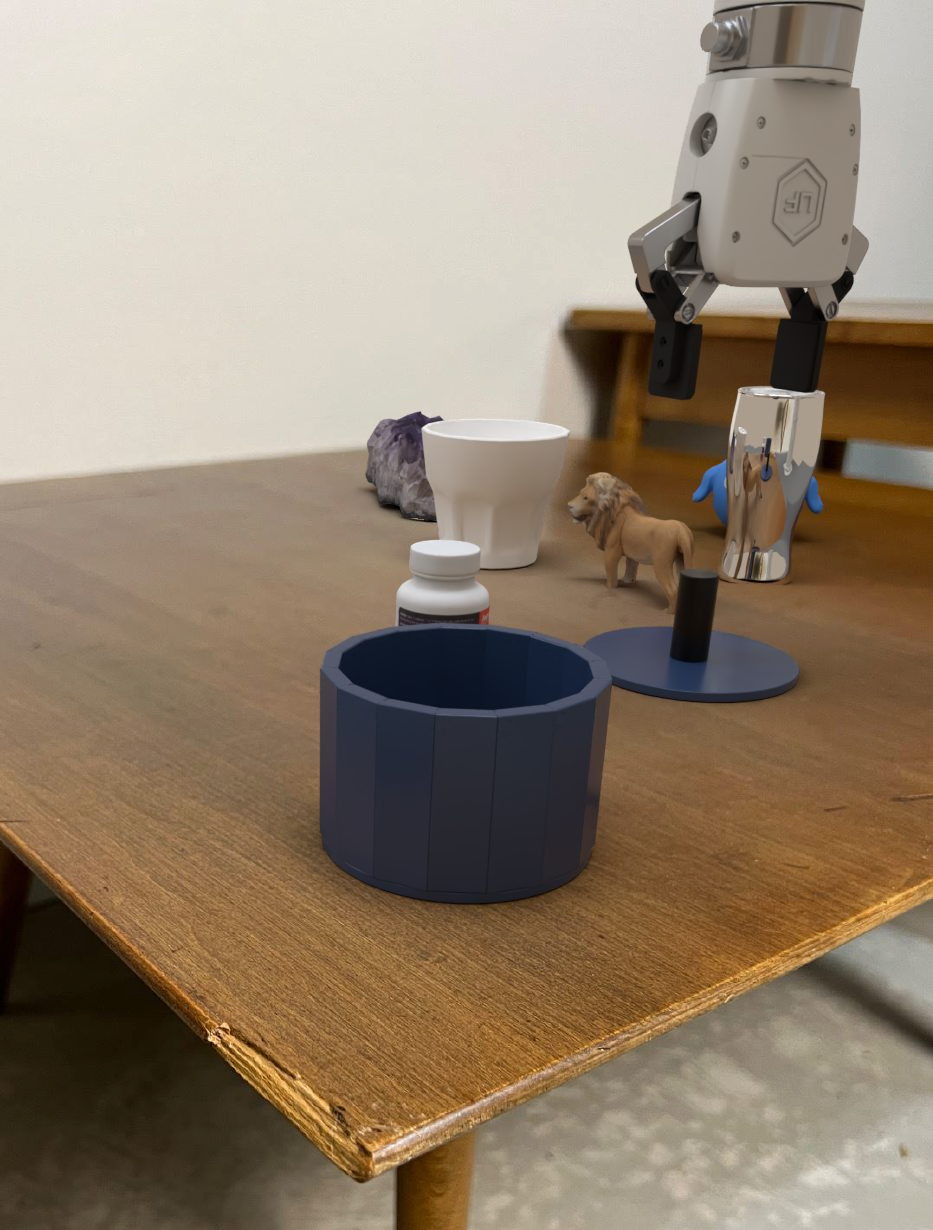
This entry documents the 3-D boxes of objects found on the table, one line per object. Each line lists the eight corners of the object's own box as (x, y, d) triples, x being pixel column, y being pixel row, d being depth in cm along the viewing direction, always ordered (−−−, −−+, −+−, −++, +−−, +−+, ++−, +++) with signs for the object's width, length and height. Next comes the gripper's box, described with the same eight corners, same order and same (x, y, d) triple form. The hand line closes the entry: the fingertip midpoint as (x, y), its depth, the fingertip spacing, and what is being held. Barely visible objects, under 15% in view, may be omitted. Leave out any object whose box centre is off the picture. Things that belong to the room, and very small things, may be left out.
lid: (768, 646, 84) (783, 551, 82) (822, 716, 72) (842, 606, 69) (571, 639, 85) (579, 544, 83) (591, 707, 73) (602, 598, 70)
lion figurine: (551, 583, 99) (561, 471, 96) (599, 575, 102) (610, 465, 98) (688, 628, 88) (705, 503, 84) (738, 617, 91) (756, 496, 87)
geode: (505, 522, 121) (499, 419, 116) (391, 539, 120) (380, 436, 116) (464, 476, 139) (457, 386, 134) (364, 491, 138) (354, 401, 134)
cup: (448, 536, 114) (454, 414, 110) (577, 551, 110) (588, 424, 105) (394, 564, 104) (398, 432, 100) (533, 582, 99) (544, 443, 95)
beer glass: (783, 592, 97) (815, 398, 91) (698, 579, 101) (724, 391, 95) (806, 575, 103) (837, 390, 97) (724, 563, 106) (750, 383, 100)
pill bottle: (493, 722, 71) (504, 557, 67) (403, 727, 70) (408, 559, 66) (470, 690, 75) (479, 534, 71) (385, 694, 75) (389, 537, 71)
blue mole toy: (672, 544, 113) (684, 451, 109) (697, 520, 122) (708, 434, 119) (808, 559, 108) (824, 462, 105) (822, 532, 118) (838, 443, 114)
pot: (578, 787, 62) (593, 627, 59) (606, 911, 51) (628, 721, 47) (333, 776, 63) (335, 618, 60) (307, 896, 52) (307, 709, 48)
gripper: (710, 33, 57) (664, 408, 64) (950, 62, 65) (886, 395, 72) (606, 50, 63) (575, 392, 70) (837, 75, 71) (789, 381, 78)
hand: (733, 393), depth 71 cm, fingers open, 9 cm apart
